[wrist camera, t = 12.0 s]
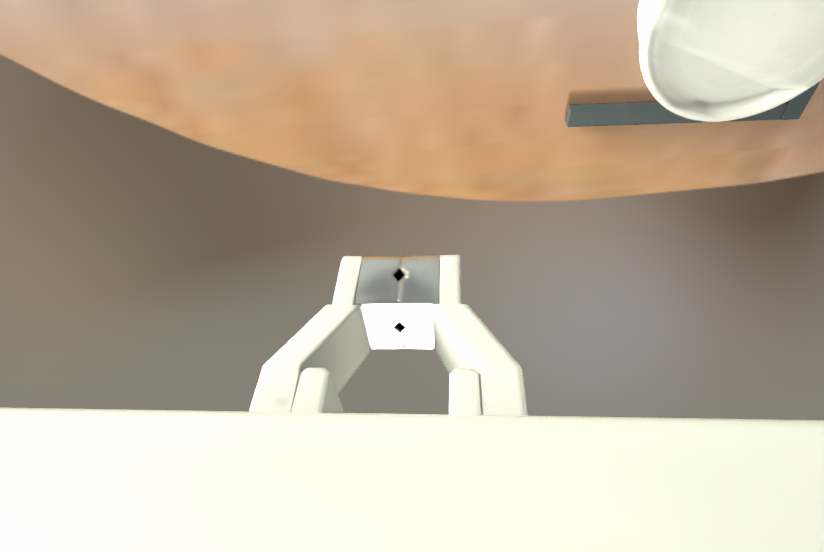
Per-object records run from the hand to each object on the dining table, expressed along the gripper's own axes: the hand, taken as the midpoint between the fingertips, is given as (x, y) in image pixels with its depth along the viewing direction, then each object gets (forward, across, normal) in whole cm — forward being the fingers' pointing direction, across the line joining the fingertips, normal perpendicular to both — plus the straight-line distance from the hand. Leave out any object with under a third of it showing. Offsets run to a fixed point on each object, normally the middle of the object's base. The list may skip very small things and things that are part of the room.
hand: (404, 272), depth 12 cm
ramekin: (+23, -17, +1) cm, 29 cm away
